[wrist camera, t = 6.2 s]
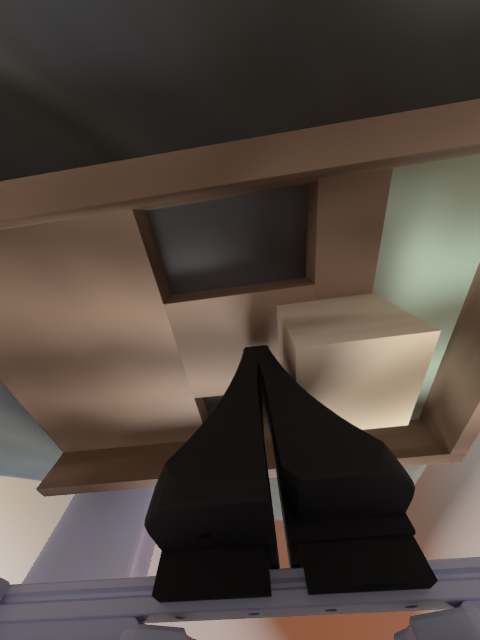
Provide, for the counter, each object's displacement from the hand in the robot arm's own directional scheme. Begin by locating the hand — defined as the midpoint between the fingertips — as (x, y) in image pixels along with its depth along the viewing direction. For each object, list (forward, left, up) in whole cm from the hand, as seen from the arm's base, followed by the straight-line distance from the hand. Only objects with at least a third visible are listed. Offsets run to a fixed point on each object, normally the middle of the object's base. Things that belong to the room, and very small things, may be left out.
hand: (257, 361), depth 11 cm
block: (0, -4, -1) cm, 4 cm away
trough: (0, +3, -3) cm, 4 cm away
